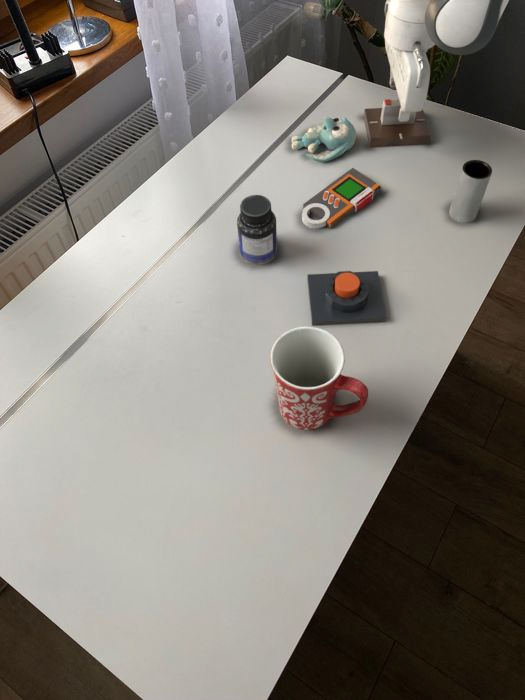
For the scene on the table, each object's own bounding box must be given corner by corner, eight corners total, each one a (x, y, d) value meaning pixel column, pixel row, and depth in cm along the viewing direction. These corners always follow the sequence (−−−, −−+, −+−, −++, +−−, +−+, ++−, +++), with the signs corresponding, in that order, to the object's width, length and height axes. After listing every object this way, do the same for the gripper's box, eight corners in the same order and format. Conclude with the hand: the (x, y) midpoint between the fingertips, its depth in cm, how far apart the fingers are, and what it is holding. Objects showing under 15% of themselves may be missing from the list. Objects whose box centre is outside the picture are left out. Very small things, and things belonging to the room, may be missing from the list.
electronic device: (293, 210, 101) (354, 164, 106) (293, 222, 104) (353, 177, 109) (321, 230, 99) (383, 183, 103) (321, 243, 101) (381, 196, 106)
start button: (357, 279, 91) (358, 271, 90) (360, 298, 89) (361, 290, 88) (333, 280, 91) (334, 273, 90) (335, 299, 89) (336, 291, 88)
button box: (376, 280, 96) (379, 263, 92) (384, 325, 91) (388, 309, 87) (306, 283, 96) (307, 266, 92) (311, 329, 91) (312, 313, 87)
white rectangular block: (412, 117, 113) (416, 97, 109) (413, 123, 112) (418, 103, 108) (380, 119, 113) (383, 99, 110) (381, 125, 112) (384, 105, 109)
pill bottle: (248, 237, 102) (244, 187, 92) (282, 246, 100) (281, 196, 91) (234, 263, 98) (228, 213, 89) (269, 273, 97) (267, 223, 88)
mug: (260, 420, 83) (256, 368, 71) (292, 371, 87) (292, 315, 75) (343, 462, 79) (352, 415, 67) (372, 409, 83) (385, 356, 72)
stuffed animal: (287, 106, 112) (352, 94, 110) (294, 138, 118) (355, 127, 116) (287, 143, 106) (355, 132, 104) (294, 175, 112) (359, 164, 110)
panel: (418, 117, 118) (421, 102, 115) (428, 151, 112) (431, 136, 110) (362, 120, 118) (364, 105, 115) (369, 154, 112) (371, 139, 110)
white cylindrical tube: (461, 230, 101) (477, 182, 92) (442, 215, 103) (456, 166, 94) (480, 219, 102) (498, 171, 93) (461, 204, 104) (477, 155, 96)
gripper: (445, 62, 92) (426, 138, 104) (420, -6, 103) (406, 70, 115) (404, 64, 92) (390, 140, 104) (384, -4, 103) (373, 71, 115)
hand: (398, 102), depth 109 cm, fingers open, 8 cm apart
